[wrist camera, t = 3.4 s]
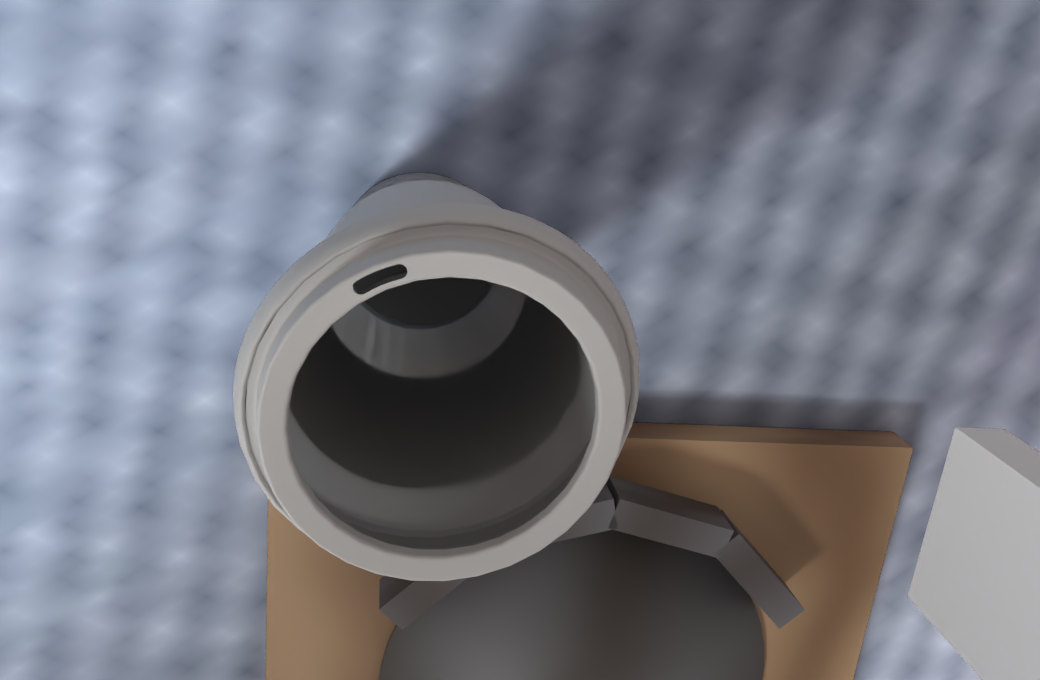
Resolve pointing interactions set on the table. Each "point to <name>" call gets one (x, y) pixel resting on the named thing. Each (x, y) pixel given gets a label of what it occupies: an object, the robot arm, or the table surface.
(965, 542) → the robot arm
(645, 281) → the table surface
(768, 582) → the ring holder
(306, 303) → the cup
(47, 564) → the table surface
